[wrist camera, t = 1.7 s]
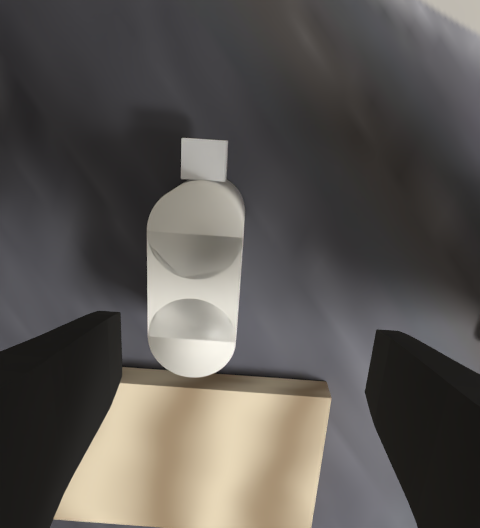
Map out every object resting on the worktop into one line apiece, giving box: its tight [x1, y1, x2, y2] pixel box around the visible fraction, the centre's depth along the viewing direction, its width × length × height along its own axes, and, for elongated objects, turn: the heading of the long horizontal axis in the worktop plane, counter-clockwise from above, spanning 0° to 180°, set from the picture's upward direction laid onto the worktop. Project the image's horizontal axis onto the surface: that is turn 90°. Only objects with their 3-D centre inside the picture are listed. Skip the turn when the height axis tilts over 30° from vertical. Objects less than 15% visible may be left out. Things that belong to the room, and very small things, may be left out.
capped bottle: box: [147, 138, 245, 378], centre depth 18 cm, size 4×10×5 cm, turn 176°
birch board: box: [54, 367, 331, 528], centre depth 23 cm, size 16×10×2 cm, turn 86°
